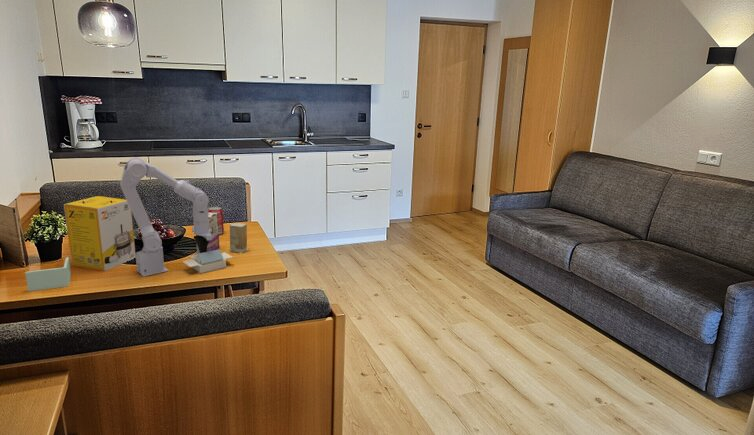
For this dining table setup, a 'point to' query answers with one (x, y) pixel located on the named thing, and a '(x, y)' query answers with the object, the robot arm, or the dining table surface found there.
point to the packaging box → (100, 232)
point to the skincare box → (238, 237)
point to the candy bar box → (212, 233)
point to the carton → (206, 267)
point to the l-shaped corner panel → (49, 277)
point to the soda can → (220, 217)
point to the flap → (210, 256)
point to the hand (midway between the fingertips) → (203, 252)
